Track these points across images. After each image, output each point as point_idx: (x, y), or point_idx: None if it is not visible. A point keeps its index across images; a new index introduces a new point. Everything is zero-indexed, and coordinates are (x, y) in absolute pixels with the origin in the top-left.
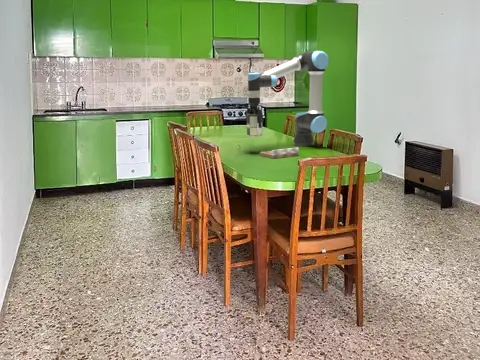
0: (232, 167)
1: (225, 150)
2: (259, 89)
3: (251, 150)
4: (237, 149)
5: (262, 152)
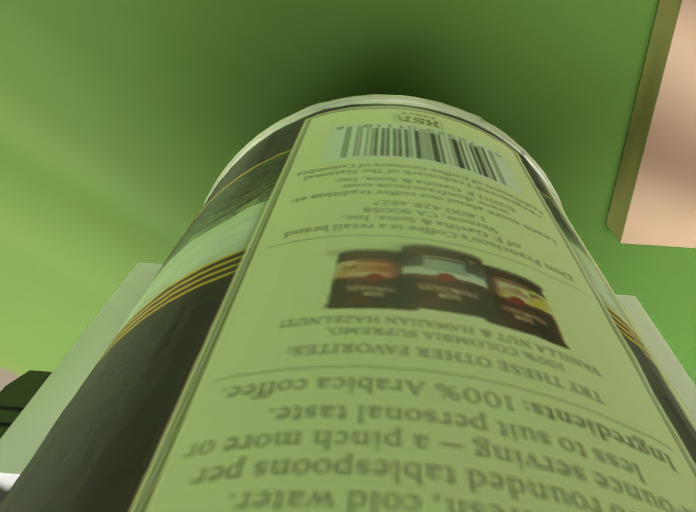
0: None
1: (22, 352)
2: None
3: (184, 76)
4: (8, 194)
5: (666, 230)
